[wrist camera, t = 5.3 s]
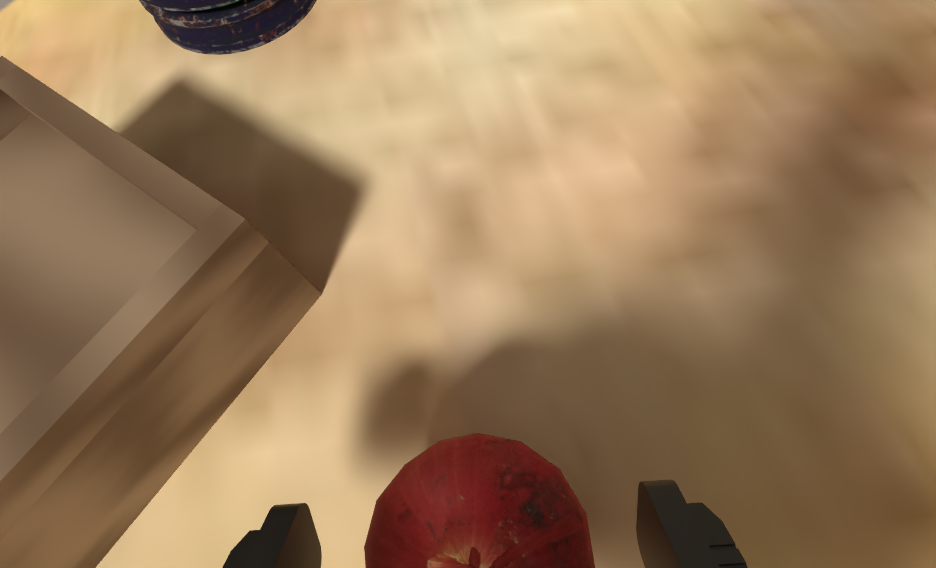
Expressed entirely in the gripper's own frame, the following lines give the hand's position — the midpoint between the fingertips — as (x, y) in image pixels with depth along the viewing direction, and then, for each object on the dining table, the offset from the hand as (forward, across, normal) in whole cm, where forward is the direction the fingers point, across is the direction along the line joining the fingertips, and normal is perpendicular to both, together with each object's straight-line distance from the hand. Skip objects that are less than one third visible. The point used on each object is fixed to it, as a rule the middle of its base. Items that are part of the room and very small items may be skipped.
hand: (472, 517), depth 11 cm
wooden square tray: (+9, +15, -1) cm, 18 cm away
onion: (+3, 0, +4) cm, 5 cm away
